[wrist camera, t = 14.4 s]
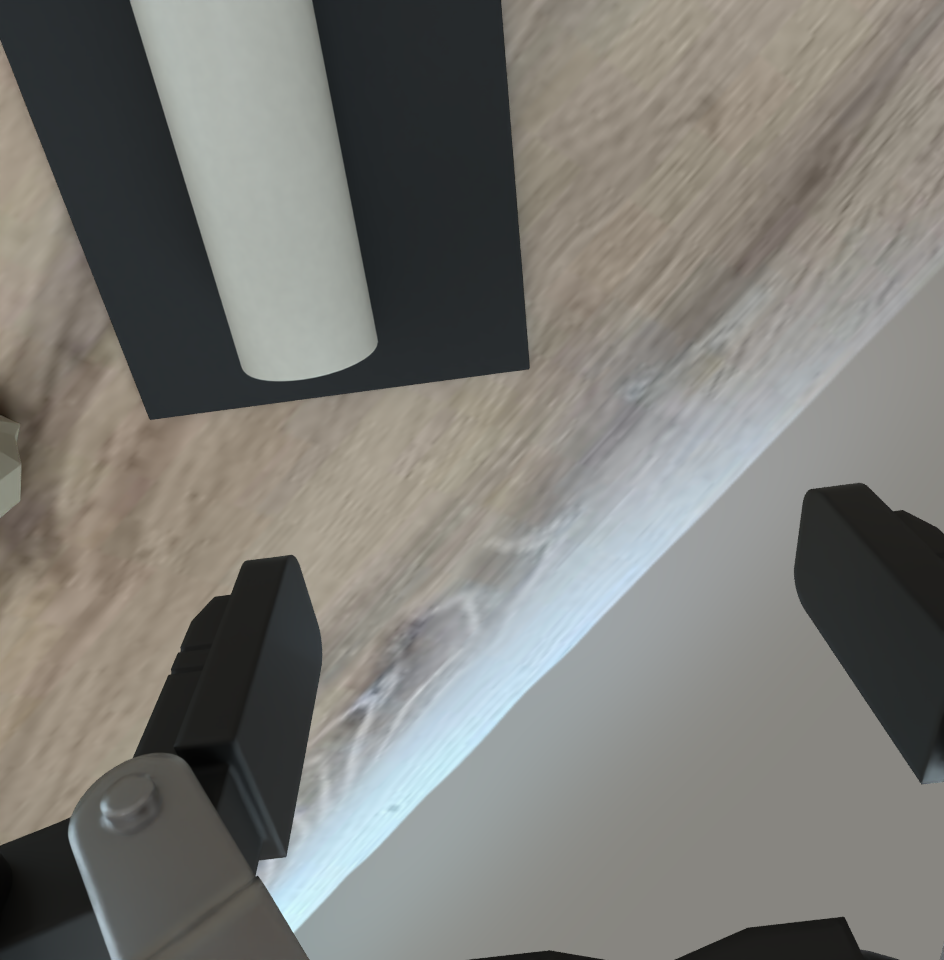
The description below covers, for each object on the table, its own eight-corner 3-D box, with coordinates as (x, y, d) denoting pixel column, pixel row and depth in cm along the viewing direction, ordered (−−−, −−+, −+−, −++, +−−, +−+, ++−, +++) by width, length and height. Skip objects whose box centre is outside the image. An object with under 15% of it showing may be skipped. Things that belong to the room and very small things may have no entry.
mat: (528, 364, 34) (529, 369, 34) (153, 414, 34) (149, 420, 34) (483, -200, 24) (485, -205, 23) (-57, -126, 24) (-67, -129, 23)
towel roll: (312, -81, 24) (267, -107, 19) (387, 327, 32) (367, 379, 27) (154, -56, 25) (72, -77, 20) (264, 339, 32) (224, 392, 28)
